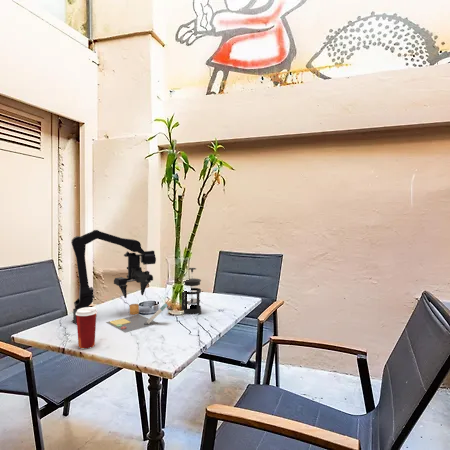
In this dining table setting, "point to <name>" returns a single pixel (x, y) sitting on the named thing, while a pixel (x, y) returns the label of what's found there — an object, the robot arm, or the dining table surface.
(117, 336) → the dining table surface
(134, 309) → the cap
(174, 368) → the dining table surface
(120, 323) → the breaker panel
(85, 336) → the paper cup
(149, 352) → the dining table surface
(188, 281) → the french press
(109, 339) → the dining table surface
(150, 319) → the lever
